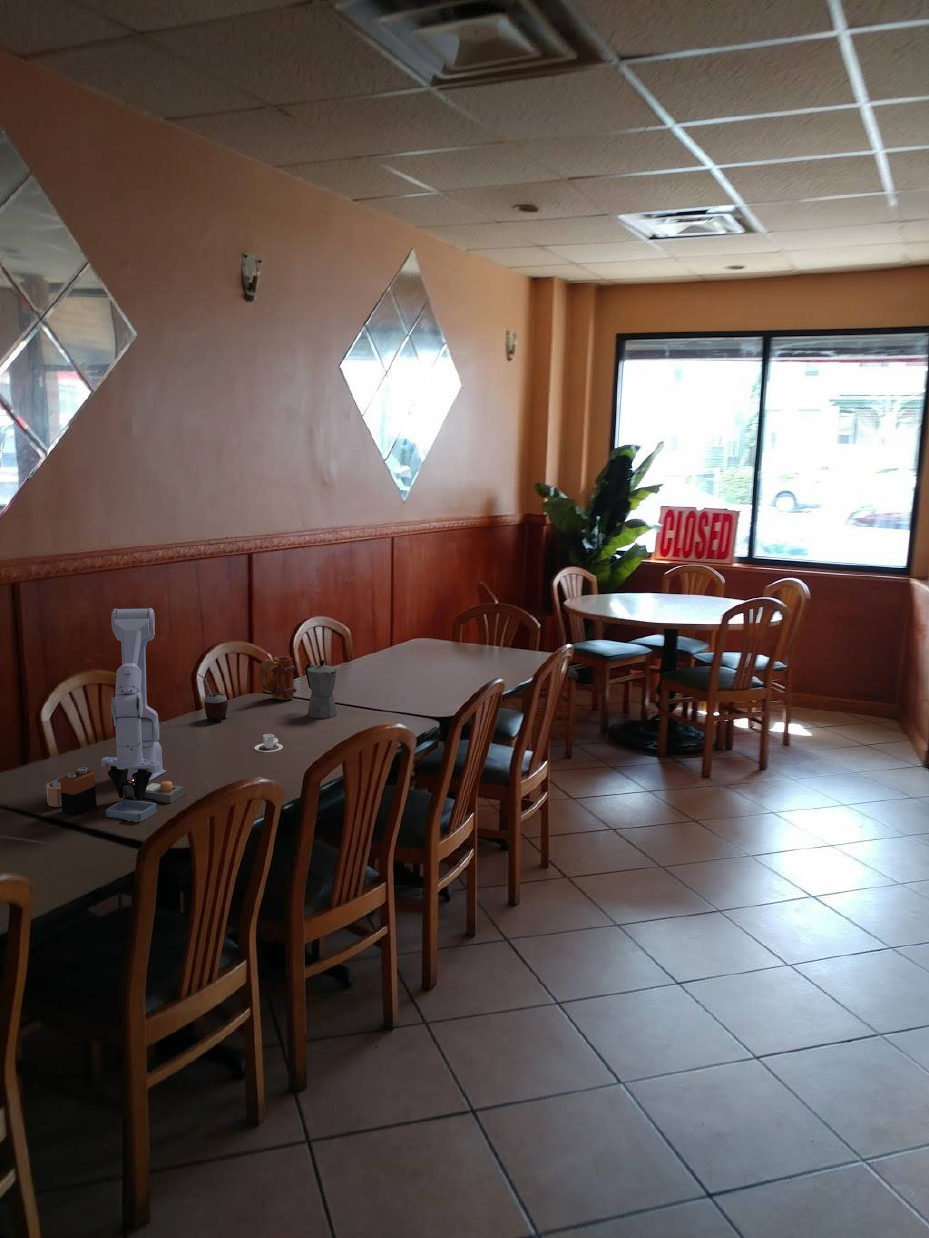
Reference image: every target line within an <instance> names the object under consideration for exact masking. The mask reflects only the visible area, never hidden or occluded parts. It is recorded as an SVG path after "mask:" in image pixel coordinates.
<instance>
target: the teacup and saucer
mask: <svg viewBox="0 0 929 1238" xmlns="http://www.w3.org/2000/svg"><path fill="white" fill-rule="evenodd" d="M262 739H263V743H259V744H257V745H255V746H254V750H255V751H257V752H261V753H273V752H279V751H281V750H282V749H283V748H284V746H283V745H282V744H280V743H279V739H278V738H277V737H275V734H273V733H265V734H263V735H262ZM262 746H264V748H265V749H266V750H261V749H259V748H260V747H262ZM274 746H276V747H278V748H276V749H274V750H270V749H273V748H274Z"/></svg>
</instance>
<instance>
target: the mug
mask: <svg viewBox="0 0 929 1238" xmlns="http://www.w3.org/2000/svg"><path fill="white" fill-rule="evenodd" d="M296 670H297V668H296V667H295V665H294V663H293V657H291V656H288V655H285V656H283V655H282V656H275V657H274V658H273V660H272V659H269V658H265V659H264V660H262V662H261V664H260V666H259V671H258V679H259V683H260V686H261V687H262V688H263V690H264V691H266V692H269V693H271V697H272V699H274V700H278V701H289V700H292V699H293V697H294V694H295V693H296V692H297V688H296V686H294V672H296ZM270 673H272V680H270V675H269V674H270Z"/></svg>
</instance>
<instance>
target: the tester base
mask: <svg viewBox="0 0 929 1238" xmlns="http://www.w3.org/2000/svg"><path fill="white" fill-rule="evenodd" d="M182 796H185V786H181V785H175V784H174V785H173V784H172V791H171V792H169V793H167V792H160V782H159V783H157V782H151V783H148V785H147V788H146V792H145V798H144V799H149V800H154V801H153V802H159V803H167V804H171V803H173V802H175V801H177V800H178V799H180V798H181V797H182Z"/></svg>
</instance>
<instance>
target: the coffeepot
mask: <svg viewBox="0 0 929 1238" xmlns="http://www.w3.org/2000/svg"><path fill="white" fill-rule="evenodd" d="M318 661H319V662H318V663H319V665H317V664H314V663H310V662H309V663H307V664H306V666H305V667H304V672H305V677H306V679H307V685H308V687H309V689H310V690H311V695H310V697H309V704H308V710H307V714H308V716H309V717H310V718H312V719H329V718H333V717H335V716H336V715H338V714H337V713H338V712H337V708H336V702H335V701H336V700H335V696H334V694H333V692H334V689H335V685H336V684H335V683H336V677H337V670H338V669H337V668H336V667H334V666H330V665H325V660H324V659H320V660H318Z"/></svg>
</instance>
